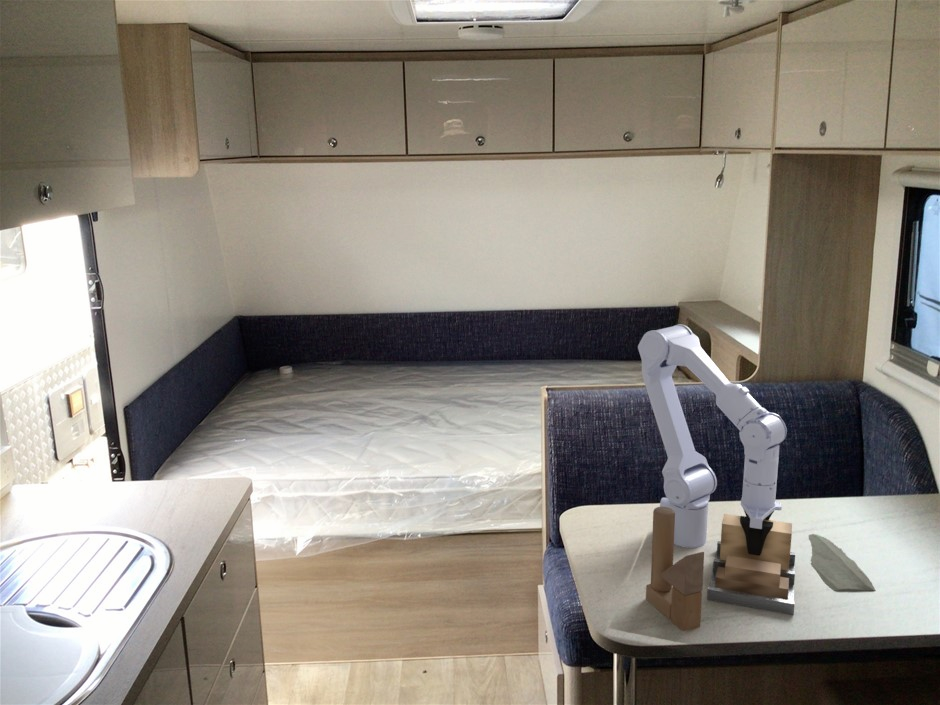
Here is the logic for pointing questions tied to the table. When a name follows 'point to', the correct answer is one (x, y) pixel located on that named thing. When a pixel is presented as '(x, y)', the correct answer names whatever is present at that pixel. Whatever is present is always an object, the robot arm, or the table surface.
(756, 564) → the walnut offcut upper
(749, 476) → the robot arm
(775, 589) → the walnut offcut lower
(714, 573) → the rack
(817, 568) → the stone slab
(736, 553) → the oak board
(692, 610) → the wooden block
